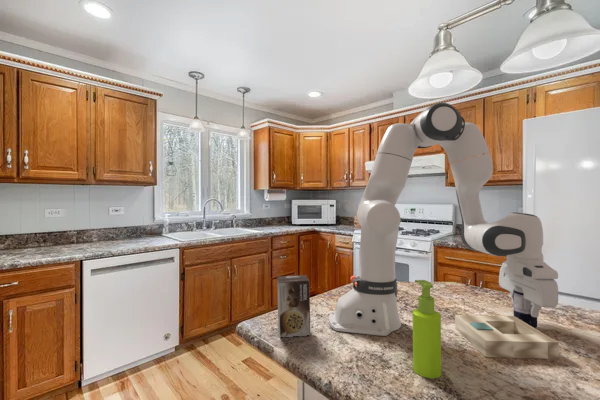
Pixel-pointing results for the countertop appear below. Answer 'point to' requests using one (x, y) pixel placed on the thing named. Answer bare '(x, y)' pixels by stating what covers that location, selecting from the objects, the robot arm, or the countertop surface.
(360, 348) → the countertop surface
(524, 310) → the beverage can
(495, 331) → the socket board
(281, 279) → the grey cardboard box
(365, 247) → the robot arm
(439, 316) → the soap dispenser
